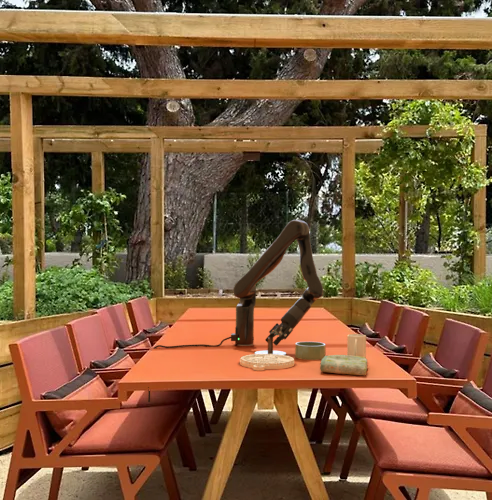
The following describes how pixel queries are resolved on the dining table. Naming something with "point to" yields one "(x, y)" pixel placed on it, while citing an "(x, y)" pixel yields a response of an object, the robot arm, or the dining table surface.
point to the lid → (270, 349)
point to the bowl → (310, 350)
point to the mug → (356, 345)
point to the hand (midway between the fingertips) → (270, 342)
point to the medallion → (266, 361)
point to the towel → (344, 364)
